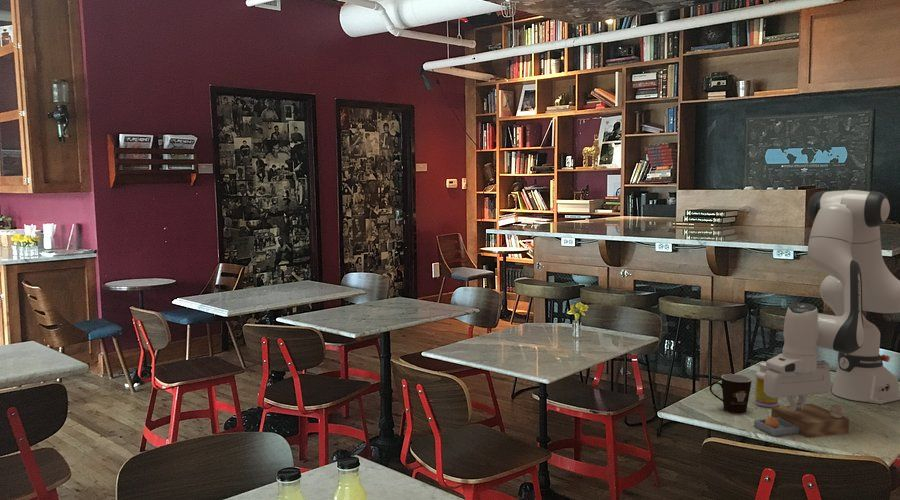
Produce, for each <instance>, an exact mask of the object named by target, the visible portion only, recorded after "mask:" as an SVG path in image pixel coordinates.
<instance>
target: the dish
mask: <svg viewBox="0 0 900 500" xmlns="http://www.w3.org/2000/svg"><path fill="white" fill-rule="evenodd" d="M766 419H767V418H761V419H754V420H753V427H754V428H756V429H758V430H759V431H762V432H763V433H766V434H768V435H770V436H771V437H774V438H775V437H785V436H784V435H786V436H793V434H795V435H800V434H799V427H798V426H796V425H794V424H792V423H790V422H787V421H785V420H783V419H781V418H779V417H778V418H776V419H777V420H778V421H779V427H778V428H777V429H774V428H772V427H770V426H768V425H766V424H765V420H766ZM790 434H792V435H790Z"/></svg>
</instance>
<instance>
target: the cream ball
mask: <svg viewBox="0 0 900 500" xmlns="http://www.w3.org/2000/svg"><path fill="white" fill-rule="evenodd" d="M828 410H829V412H830V415H831V416H832V417H834V418H841V417H842V416H844V415H845V410H844V408H843V407H842V406H840V405H838V404H834V405H831V407H830V408H829V409H828Z"/></svg>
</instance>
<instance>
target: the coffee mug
mask: <svg viewBox="0 0 900 500" xmlns="http://www.w3.org/2000/svg"><path fill="white" fill-rule="evenodd" d="M720 378H721V382H719V381H713V382H712V383H710V385H709V391H710V393H711V394H712V395H713V396H714V397H715V398H717V399H718V400H720V401H721V402H722V403H723V406H722V407H723V410H724V411H725V412H726V413H731V414H737V415H739V414H745V413H747V409H748V404H749V397H750V392H751V387H752V381H753V379H752V378H751V377H750V376H747V375H743V374H738V373H737V374H736V373H729V374H728V373H727V374H722V375H721V377H720ZM714 385H719V386H720V387H721V390H722V397H720V396H718V395H717V394H715V393H714V392H713V389H712V388H713V386H714Z"/></svg>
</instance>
